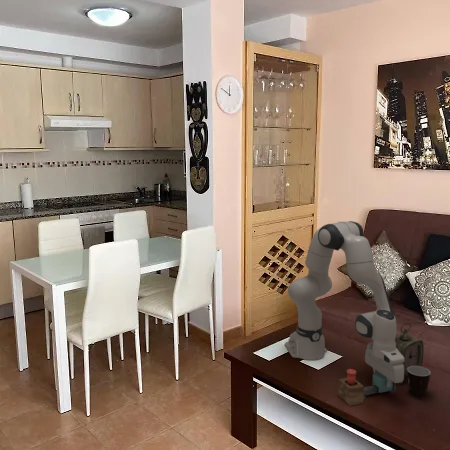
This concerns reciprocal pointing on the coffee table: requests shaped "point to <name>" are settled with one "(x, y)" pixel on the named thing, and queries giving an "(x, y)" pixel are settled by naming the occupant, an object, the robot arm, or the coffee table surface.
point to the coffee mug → (418, 381)
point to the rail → (376, 390)
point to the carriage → (381, 382)
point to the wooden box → (351, 392)
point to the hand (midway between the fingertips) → (382, 382)
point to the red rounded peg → (351, 377)
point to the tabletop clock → (409, 349)
